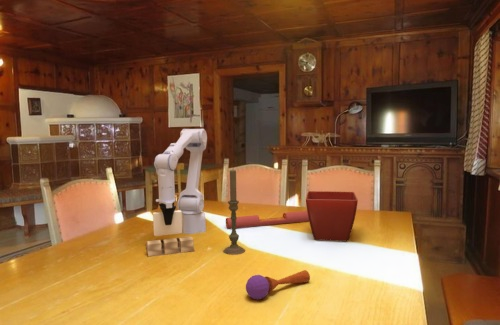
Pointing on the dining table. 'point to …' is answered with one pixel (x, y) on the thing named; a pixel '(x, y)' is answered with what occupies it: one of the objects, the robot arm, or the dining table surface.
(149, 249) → the offcut
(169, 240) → the block
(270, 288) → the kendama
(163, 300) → the dining table surface
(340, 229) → the plant pot
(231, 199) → the candlestick holder
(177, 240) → the rack
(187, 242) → the offcut
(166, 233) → the cream rectangular block
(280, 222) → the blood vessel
